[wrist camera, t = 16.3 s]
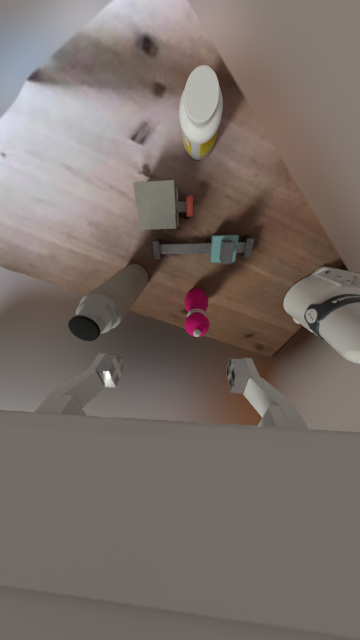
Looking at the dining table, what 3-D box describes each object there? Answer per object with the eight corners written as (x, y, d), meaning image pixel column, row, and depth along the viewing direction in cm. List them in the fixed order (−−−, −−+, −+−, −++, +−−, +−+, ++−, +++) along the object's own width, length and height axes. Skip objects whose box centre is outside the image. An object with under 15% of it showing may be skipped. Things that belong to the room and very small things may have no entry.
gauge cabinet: (177, 186, 35) (174, 179, 29) (179, 226, 40) (176, 228, 34) (143, 188, 36) (133, 182, 30) (148, 228, 40) (140, 229, 34)
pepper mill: (180, 296, 51) (174, 334, 34) (196, 282, 48) (198, 316, 31) (195, 310, 53) (195, 351, 37) (211, 297, 50) (220, 336, 34)
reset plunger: (193, 196, 35) (193, 194, 32) (192, 216, 37) (192, 216, 34) (144, 199, 36) (139, 197, 33) (147, 218, 38) (142, 218, 35)
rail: (249, 236, 40) (254, 238, 37) (246, 254, 42) (250, 257, 39) (155, 239, 42) (152, 241, 39) (157, 256, 44) (154, 259, 41)
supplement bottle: (221, 119, 29) (237, 63, 19) (208, 165, 33) (215, 140, 22) (188, 105, 29) (185, 39, 18) (179, 154, 32) (171, 123, 22)
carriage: (235, 234, 39) (245, 237, 32) (231, 258, 43) (239, 267, 35) (211, 234, 40) (215, 238, 32) (209, 258, 43) (213, 267, 36)
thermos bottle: (131, 291, 51) (79, 352, 28) (118, 268, 47) (46, 316, 24) (152, 284, 49) (116, 344, 26) (141, 260, 45) (86, 304, 22)
